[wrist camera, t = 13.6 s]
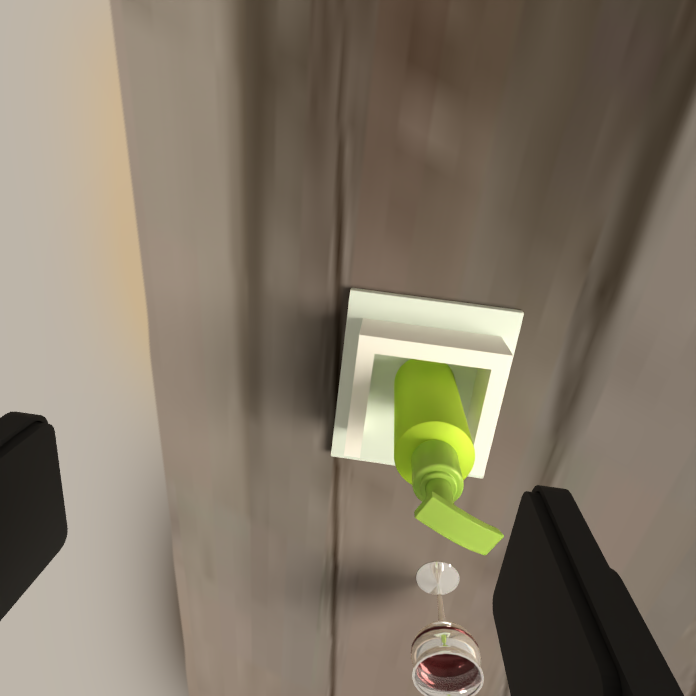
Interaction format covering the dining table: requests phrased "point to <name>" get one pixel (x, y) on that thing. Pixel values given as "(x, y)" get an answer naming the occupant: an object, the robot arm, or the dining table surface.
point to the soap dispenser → (437, 451)
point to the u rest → (422, 344)
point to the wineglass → (444, 643)
